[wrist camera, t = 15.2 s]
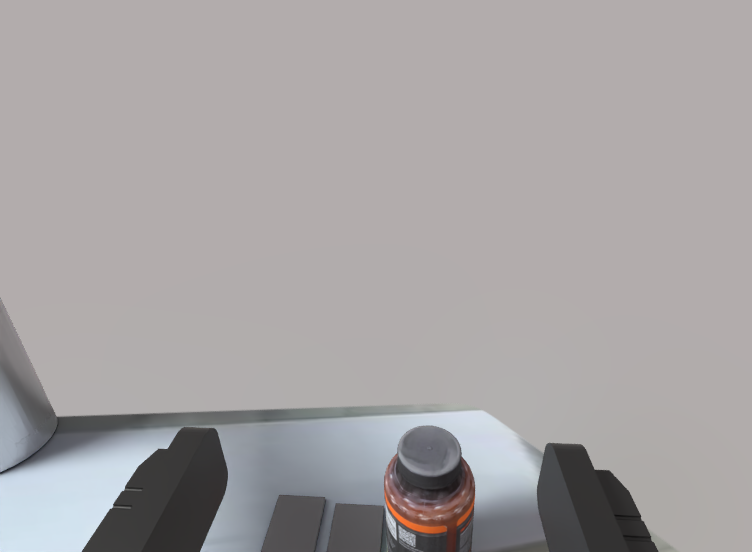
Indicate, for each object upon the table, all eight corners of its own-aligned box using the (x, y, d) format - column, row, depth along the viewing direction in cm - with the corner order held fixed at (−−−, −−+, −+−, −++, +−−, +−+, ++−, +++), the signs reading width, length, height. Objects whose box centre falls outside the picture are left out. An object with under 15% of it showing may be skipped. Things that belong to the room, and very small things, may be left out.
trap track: (252, 585, 31) (251, 581, 31) (279, 498, 38) (279, 494, 37) (471, 601, 30) (472, 598, 30) (462, 508, 36) (462, 504, 36)
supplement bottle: (464, 522, 34) (473, 414, 30) (474, 607, 29) (487, 491, 24) (388, 520, 35) (384, 412, 30) (385, 603, 30) (380, 488, 25)
